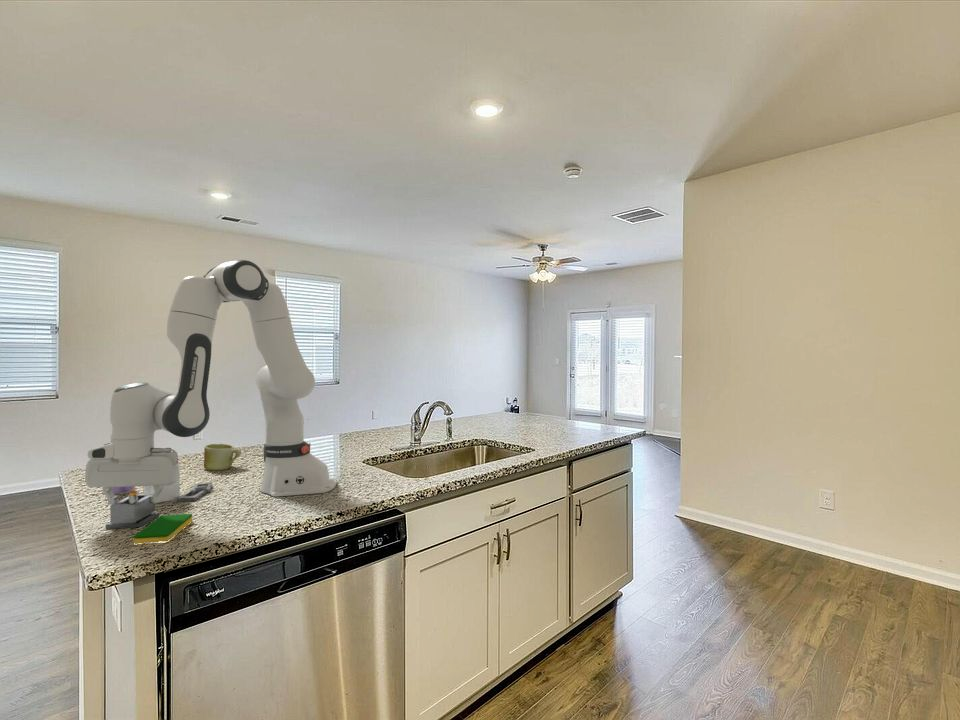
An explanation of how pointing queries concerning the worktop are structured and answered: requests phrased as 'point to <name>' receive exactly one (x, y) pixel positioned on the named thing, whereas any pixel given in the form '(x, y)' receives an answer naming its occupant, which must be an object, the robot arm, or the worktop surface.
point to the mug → (219, 456)
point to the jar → (165, 491)
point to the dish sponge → (163, 528)
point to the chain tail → (196, 492)
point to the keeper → (133, 498)
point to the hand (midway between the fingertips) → (133, 503)
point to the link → (131, 510)
